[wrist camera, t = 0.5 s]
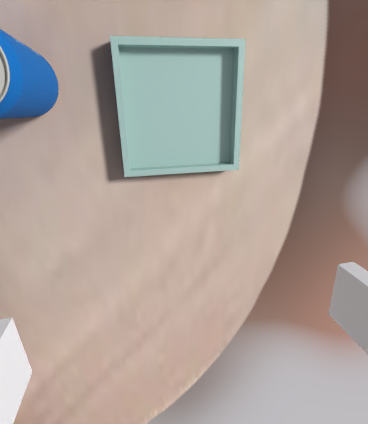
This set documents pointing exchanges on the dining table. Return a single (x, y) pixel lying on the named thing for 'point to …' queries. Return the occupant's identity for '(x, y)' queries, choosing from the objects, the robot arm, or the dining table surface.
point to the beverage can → (24, 80)
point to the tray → (178, 103)
